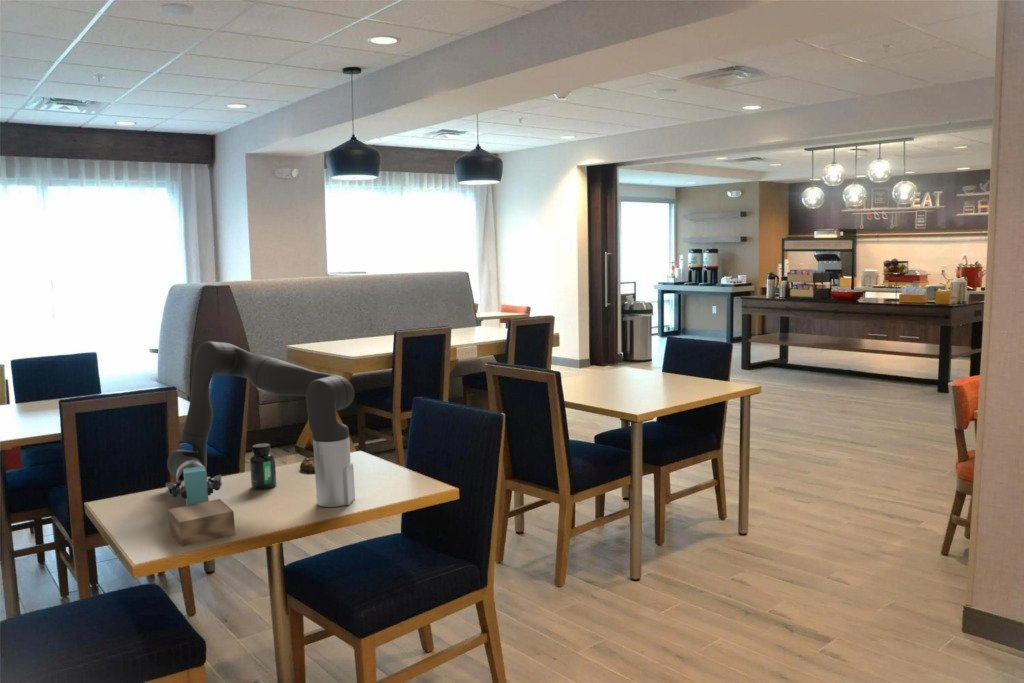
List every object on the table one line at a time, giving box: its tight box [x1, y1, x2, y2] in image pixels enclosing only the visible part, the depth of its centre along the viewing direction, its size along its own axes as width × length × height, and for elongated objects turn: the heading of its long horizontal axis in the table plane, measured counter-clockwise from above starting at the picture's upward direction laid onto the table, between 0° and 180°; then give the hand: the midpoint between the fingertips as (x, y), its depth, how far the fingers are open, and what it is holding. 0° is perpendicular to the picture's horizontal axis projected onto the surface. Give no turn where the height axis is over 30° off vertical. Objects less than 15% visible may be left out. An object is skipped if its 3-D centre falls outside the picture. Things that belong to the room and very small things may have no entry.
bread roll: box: [299, 454, 315, 474], centre depth 245 cm, size 11×11×5 cm
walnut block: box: [167, 498, 236, 547], centre depth 191 cm, size 12×12×6 cm
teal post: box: [183, 466, 210, 506], centre depth 202 cm, size 5×5×12 cm
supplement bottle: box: [249, 442, 277, 491], centre depth 227 cm, size 7×7×12 cm
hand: (197, 493), depth 200 cm, fingers closed on teal post, 5 cm apart
